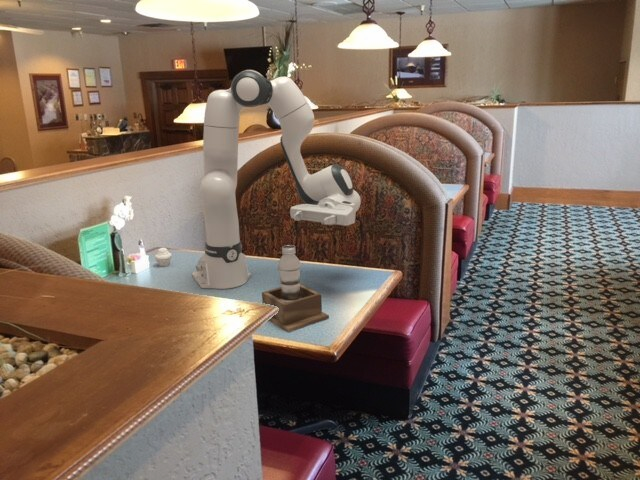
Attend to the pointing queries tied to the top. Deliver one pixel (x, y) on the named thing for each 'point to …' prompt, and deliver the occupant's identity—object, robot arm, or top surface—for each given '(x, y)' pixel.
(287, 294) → the plastic bottle
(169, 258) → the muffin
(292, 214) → the robot arm
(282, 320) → the bottle caddy
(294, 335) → the top surface
